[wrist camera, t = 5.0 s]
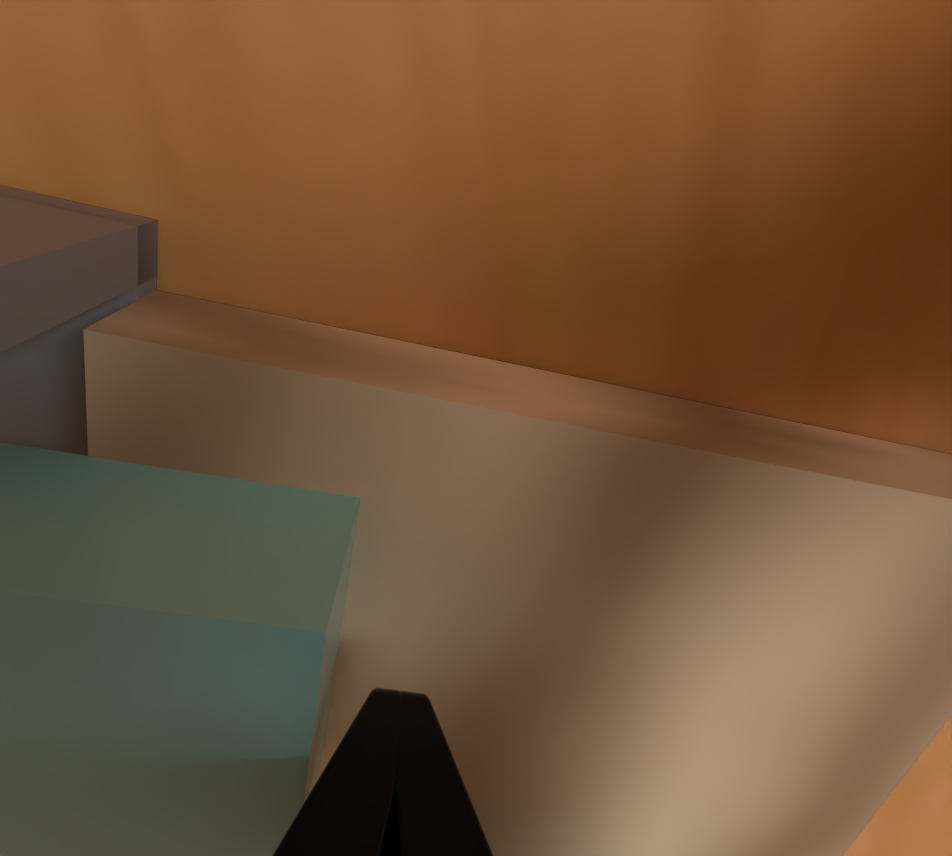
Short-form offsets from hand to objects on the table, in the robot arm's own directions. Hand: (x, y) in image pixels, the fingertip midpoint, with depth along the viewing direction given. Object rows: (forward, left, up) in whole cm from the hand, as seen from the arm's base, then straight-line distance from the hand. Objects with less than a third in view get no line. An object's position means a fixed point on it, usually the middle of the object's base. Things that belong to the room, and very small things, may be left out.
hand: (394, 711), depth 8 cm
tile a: (+3, 0, -1) cm, 4 cm away
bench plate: (-2, +4, -3) cm, 6 cm away
